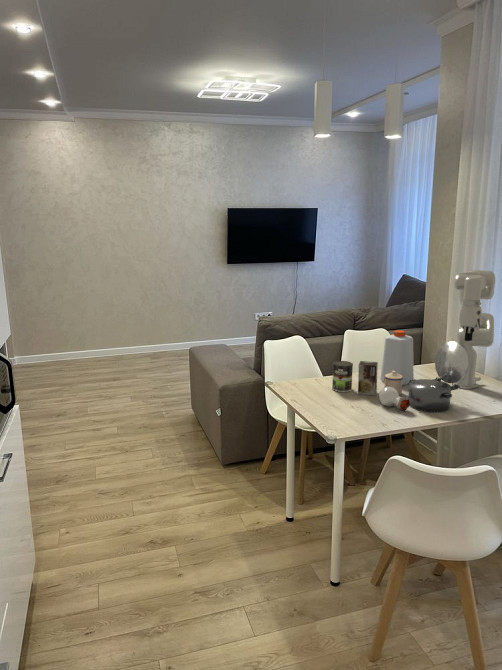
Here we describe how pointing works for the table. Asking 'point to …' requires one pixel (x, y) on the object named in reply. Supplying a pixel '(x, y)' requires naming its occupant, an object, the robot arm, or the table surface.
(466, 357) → the lid
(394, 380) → the teacup with lid
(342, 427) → the table surface
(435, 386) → the pot
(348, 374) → the coffee can
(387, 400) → the potion bottle
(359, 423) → the table surface
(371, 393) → the coffee box
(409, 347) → the plastic bottle
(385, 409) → the table surface
